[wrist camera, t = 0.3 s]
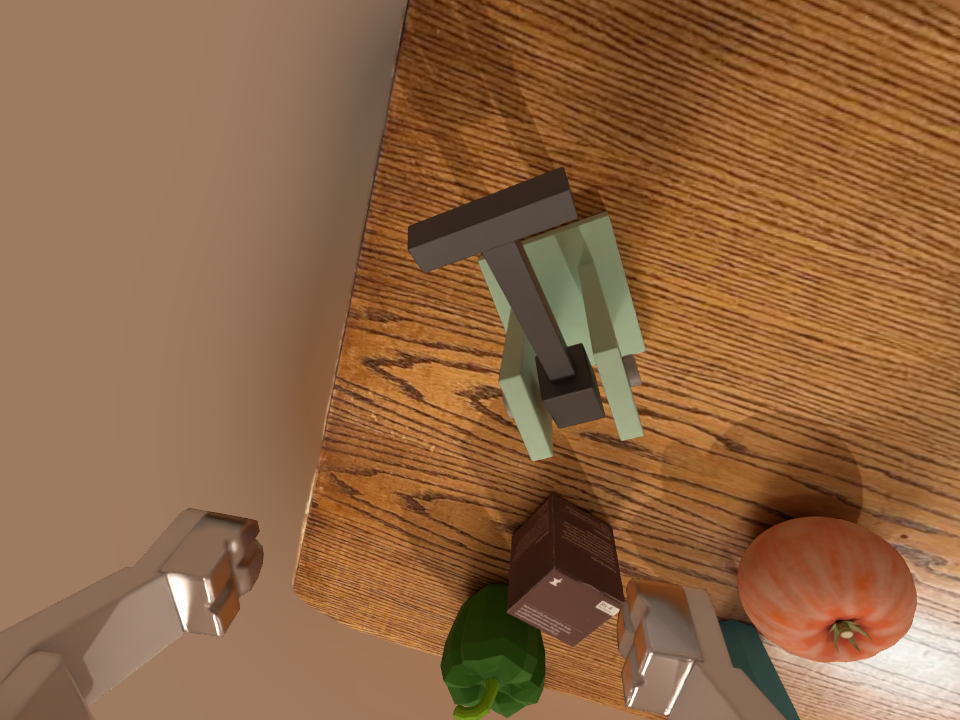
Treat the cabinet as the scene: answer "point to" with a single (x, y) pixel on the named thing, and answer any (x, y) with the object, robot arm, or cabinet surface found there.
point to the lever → (519, 279)
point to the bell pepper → (492, 658)
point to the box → (564, 572)
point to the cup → (756, 664)
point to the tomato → (826, 589)
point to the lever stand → (573, 326)
